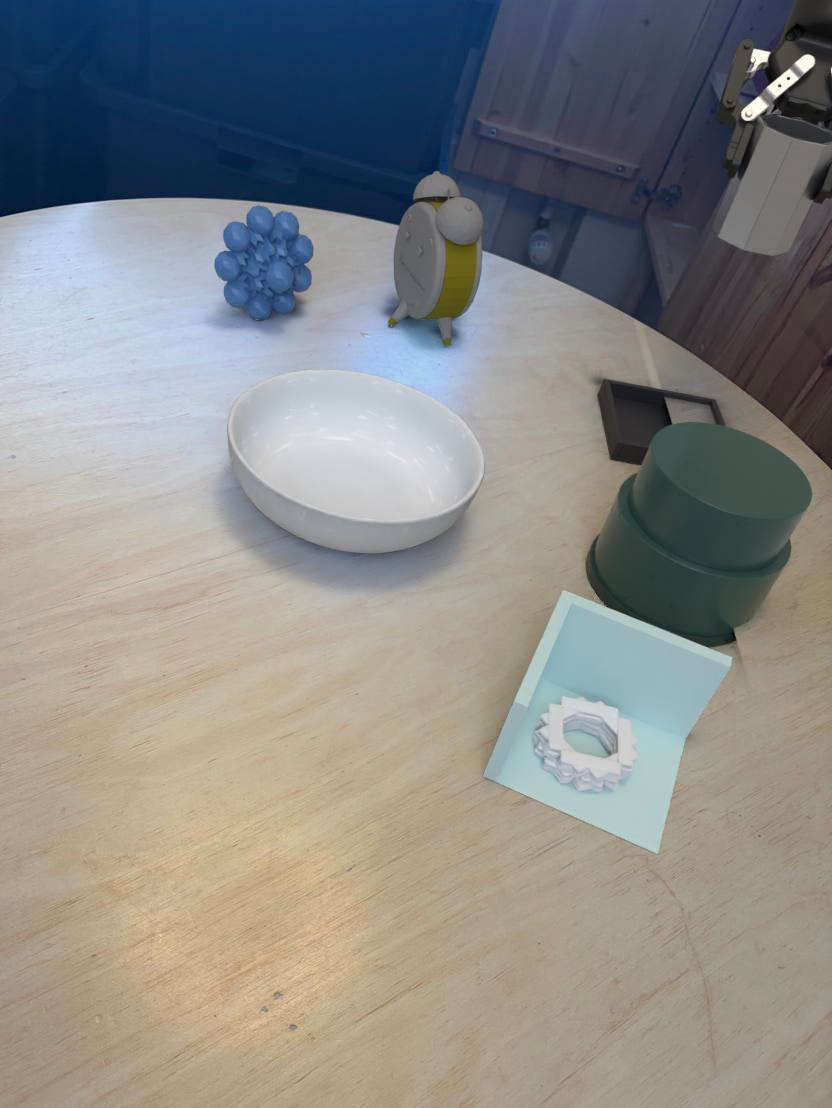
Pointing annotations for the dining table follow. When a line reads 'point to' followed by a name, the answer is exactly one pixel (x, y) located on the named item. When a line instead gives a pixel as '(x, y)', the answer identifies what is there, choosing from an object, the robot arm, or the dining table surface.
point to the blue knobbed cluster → (264, 262)
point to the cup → (774, 184)
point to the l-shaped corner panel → (605, 718)
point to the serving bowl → (353, 459)
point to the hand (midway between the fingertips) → (776, 185)
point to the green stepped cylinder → (699, 532)
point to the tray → (638, 416)
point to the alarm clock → (437, 254)
